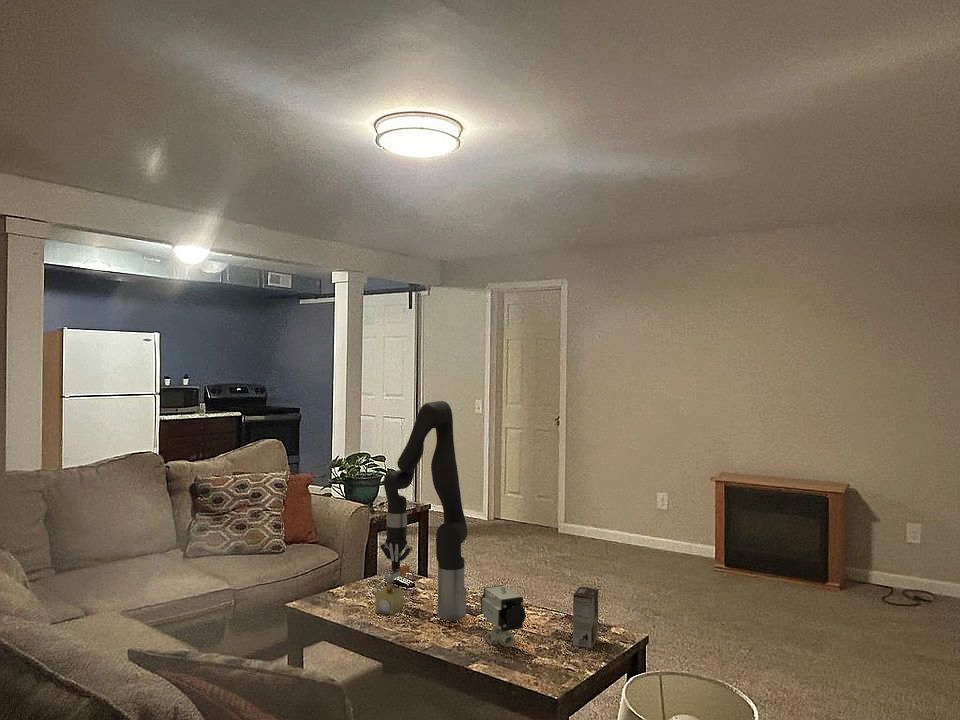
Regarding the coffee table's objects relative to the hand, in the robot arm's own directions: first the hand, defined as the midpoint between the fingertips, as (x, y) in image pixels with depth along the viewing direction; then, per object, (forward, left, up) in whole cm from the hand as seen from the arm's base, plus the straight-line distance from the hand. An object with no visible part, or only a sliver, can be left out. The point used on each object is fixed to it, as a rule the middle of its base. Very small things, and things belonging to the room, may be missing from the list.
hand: (395, 570), depth 263 cm
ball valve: (-50, +20, -11) cm, 55 cm away
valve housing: (-3, +10, -11) cm, 15 cm away
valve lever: (-3, +4, -1) cm, 5 cm away
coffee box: (-74, +7, -11) cm, 75 cm away
